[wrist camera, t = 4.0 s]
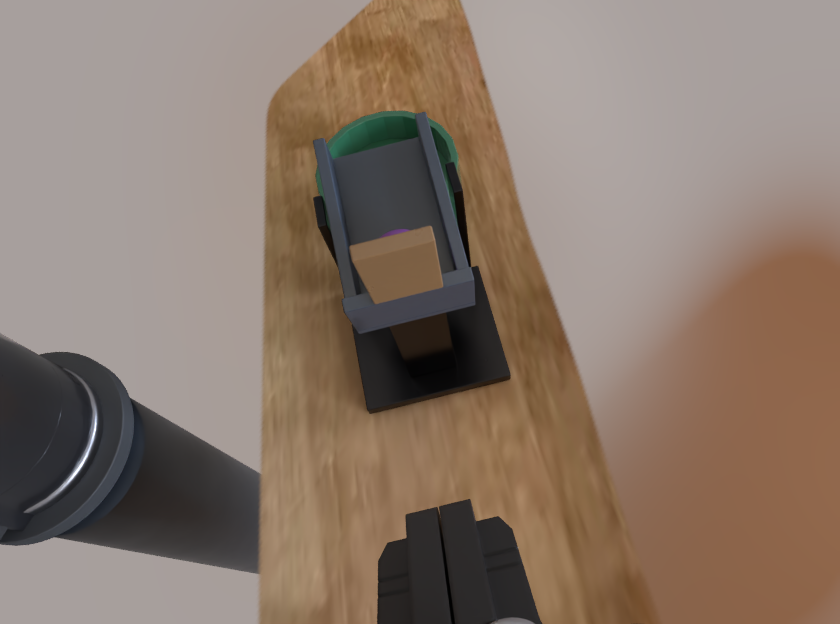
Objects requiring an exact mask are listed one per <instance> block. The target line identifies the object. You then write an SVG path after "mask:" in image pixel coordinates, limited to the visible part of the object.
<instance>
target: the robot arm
mask: <svg viewBox="0 0 840 624" xmlns="http://www.w3.org/2000/svg"><path fill="white" fill-rule="evenodd" d="M102 431H103V411H102V406H101V403H100V400H99V397H98V395H97V393H96V391H95V390H94V388H93V387H92V386H91V385H90V384H89V383H88V382H87V381H86V380H85V379H83V378H82V377H80V376H79V375H77V374H75V373H73V372H72V371H70V370H68V369H66V368H63V367H61V366H59V365H57V364H55V363H53V362H50V361H49V360H47V359H45V358H43V357H41V356H40V355H38V354H36V353H35V352H33V351H31V350H29V349H27V348H25V347H24V346H22V345H20V344H18V343H17V342H15V341H13V340H11V339H10V338H8V337H6V336H4V335H2V334H0V540H1V538H2V536H3V535H4V533H5V532H6V530H7V529H8V530H13V531H19V532H21V531H23V530H24V529H25V528H26V526H27V525H28V523H29V521H30V520H31V519H32V517H33V516H34V515H35V514H37V513H40V512H42V511H44V510H46V509H47V508H49V507H51V506H53V505H54V504H55V503H57V502H58V501H60V500H61V499H62V498H63V497H65V496H66V495H67V494H68V493H69V492H70V491H71V490H72V489H73V488H74V487H75V486H76V485H77V484H78V483H79V481H80V480H81V479H82V477H83V476H84V475H85V473H86V472H87V470H88V469H89V467H90V465H91V463H92V462H93V460H94V457H95V455H96V453H97V450H98V448H99V444H100V441H101V437H102ZM439 509H440V514H439V511H438V508H437V507H435V508H431V509H427V510H422V511H418V512H414V513H410V514H406V535H407V538H406V539H402V540H397V541H393V542H389V543H387V545H386V547H385V549H384V551H383V553H382V555H381V557H380V559H379V561H378V582H379V583H378V614H377V624H542V622H541V621H540V618H539V616H538V612H537V609H536V606H535V602H534V599H533V596H532V593H531V589H530V586H529V583H528V580H527V576H526V573H525V570H524V566H523V564H522V560H521V557H520V553H519V550H518V547H517V543H516V540H515V537H514V534H513V530H512V528H510V527H509V526H508V525H507V524H506V523H505V522H504V521H503V520H502V519H501V518H500V517H499V516H497V517H493V518H489V519H485V520H481V521H476V520H475V516H474V512H473V508H472V504H471V500H470V499H468V500H464V501H460V502H455V503H451V504H447V505H443V506H439ZM440 517H441V518H440Z"/></svg>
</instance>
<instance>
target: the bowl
mask: <svg viewBox="0 0 840 624" xmlns="http://www.w3.org/2000/svg"><path fill="white" fill-rule="evenodd" d="M415 114H416V113H412V112H408V111H383V112H378V113H375V114H371V115H367V116H364V117H361V118H359V119H357V120H356V121H354V122H352V123H350V124H348V125H346V126H345V127H343V128H342V129H341V130H340V131H339V132H338V133H337V134H336V135H334V136H333V137H332V138H331V139H330V140H329V142H328V143H327V146H328V149H329V151H330V153H331V156H332V158H333V159H334V158H338V157H342V156H346V155H350V154H354V153H358V152H362V151H366V150H369V149H373V148H377V147H381V146H385V145H389V144H393V143H397V142H401V141H405V140H408V139H412V138H416V137H418V131H417V125H416V120H415ZM427 118H428V117H427ZM428 121H429V125H430V129H431V132H432V136H433V139H434V143H435V147H436V150H437V154H438V157H439V161H440V165H441V168H442V172H443V175H444V179H445V183H446V186H447V190H448V194H449V188H448V181H447V174H446V167H445V164H446V163H450V162H454V163H455V167H456V170H457V173H458V176H459V180H460V183H461V176H460V168H459V159H458V153H457V150H456V147H455V144H454V141H453V139H452V137H451V136H450V135H449V134H448V133H447V132H446V130H445V129H444V128H443V127H442V126H441V125H440V124H438V123H437V122H435V121H433V120H431V119H430V118H428ZM315 177H316V182H317V187H318V192H319V195H320V196H322V197H323V199H324V201H325V198H324V193H323V188H322V183H321V178H320V173H319V168H318V165H317V170H316V176H315ZM461 186H462V185H461ZM449 197H450V195H449Z"/></svg>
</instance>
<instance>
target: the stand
mask: <svg viewBox="0 0 840 624" xmlns="http://www.w3.org/2000/svg"><path fill="white" fill-rule="evenodd" d="M445 167H446V174H447V181H448V188H449V195H450V201H451V204H452V208H453V212H454V215H455V219H456V222H457V226H458V230H459V233H460V237H461V240H462V244H463V248H464V251H465V255H466V258H467V262H468V266H469V267H471V260H470V251H469V242H468V233H467V224H466V216H465V207H464V198H463V190H462V186H461V183H460V180H459V176H458V173H457V170H456V167H455V163H454V162H450V163H446V164H445ZM313 199H314V206H315V212H316V218H317V224H318V228H319V230H320V232H321V234H322V236H323V238H324V240H325V242H326V244H327V246H328V248H329V250H330V252H331V254H332V256H333V258H334V260H335V262H336V264H337V266H338V263H337V258H336V253H335V248H334V243H333V238H332V233H331V228H330V223H329V218H328V213H327V208H326V203H325V201H324V199H323V197H322V196H317V197H314V198H313ZM338 269H339V268H338ZM471 270H472V274H473V277H474V288H475V305H473V306H469V307H465V308H461V309H457V310H453V311H449V312H445V313H441V314H437V315H433V316H429V317H425V318H421V319H417V320H413V321H409V322H405V323H401V324H397V325H393V326H389V327H385V328H381V329H377V330H373V331H369V332H365V333H361V334H359V333H358V331H357V330H356V329H355V327H354V326H353V324H352V328H353V333H354V339H355V345H356V350H357V356H358V361H359V367H360V373H361V378H362V384H363V389H364V395H365V400H366V406H367V410H368V412H369V413H370V414H372V413H376V412H380V411H384V410H388V409H392V408H396V407H400V406H404V405H408V404H412V403H416V402H420V401H424V400H428V399H432V398H437V397H441V396H445V395H449V394H453V393H457V392H461V391H465V390H469V389H473V388H477V387H481V386H485V385H489V384H493V383H497V382H501V381H505V380H509V379H510V371H509V368H508V365H507V361H506V358H505V355H504V351H503V348H502V344H501V341H500V338H499V334H498V331H497V328H496V324H495V321H494V318H493V314H492V311H491V308H490V304H489V301H488V298H487V294H486V291H485V288H484V284H483V281H482V278H481V274H480V271H479V268H478V266H475V267H471Z"/></svg>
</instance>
